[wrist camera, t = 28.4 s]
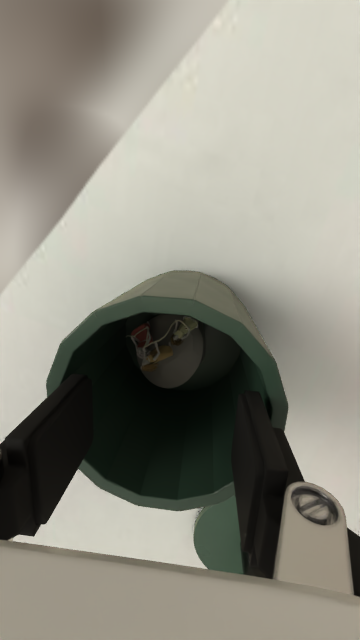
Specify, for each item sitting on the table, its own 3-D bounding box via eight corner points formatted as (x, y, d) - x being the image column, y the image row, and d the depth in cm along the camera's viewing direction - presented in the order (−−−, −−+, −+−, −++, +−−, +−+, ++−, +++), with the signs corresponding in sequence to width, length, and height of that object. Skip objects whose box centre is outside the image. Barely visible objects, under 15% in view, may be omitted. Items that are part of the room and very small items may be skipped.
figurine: (181, 393, 19) (133, 430, 13) (137, 349, 20) (76, 366, 14) (231, 335, 17) (200, 349, 12) (180, 291, 18) (130, 285, 13)
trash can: (120, 387, 21) (54, 495, 12) (119, 266, 19) (37, 287, 10) (241, 399, 21) (267, 524, 12) (257, 275, 18) (307, 307, 9)
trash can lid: (190, 565, 26) (184, 670, 19) (198, 474, 23) (194, 564, 16) (304, 582, 25) (337, 698, 18) (327, 491, 22) (375, 591, 16)
